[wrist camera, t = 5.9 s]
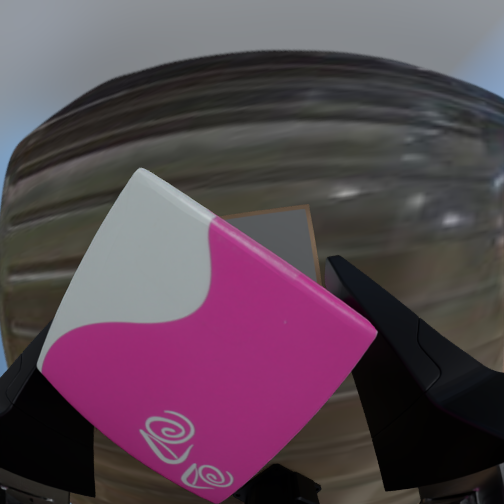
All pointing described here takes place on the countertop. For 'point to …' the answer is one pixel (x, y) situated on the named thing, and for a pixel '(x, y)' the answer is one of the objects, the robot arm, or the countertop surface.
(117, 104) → the countertop surface
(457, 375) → the robot arm
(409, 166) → the countertop surface
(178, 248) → the supplement box
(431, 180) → the countertop surface
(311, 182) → the countertop surface
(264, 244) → the walnut base
